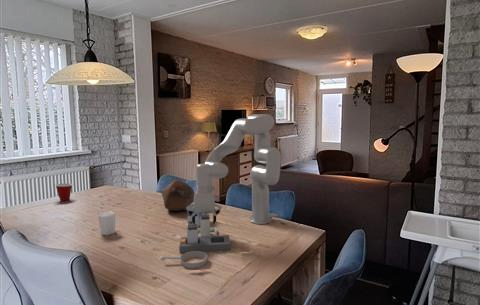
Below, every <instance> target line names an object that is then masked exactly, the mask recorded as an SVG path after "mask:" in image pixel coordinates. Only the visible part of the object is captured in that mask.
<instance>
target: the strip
mask: <svg viewBox="0 0 480 305" xmlns="http://www.w3.org/2000/svg"><path fill="white" fill-rule="evenodd" d="M178 248H179V249H178V250H179V254H185V253H187V252H191V251H201V252H204V253H207V252H208V253H209V252H210V253H211V252H227V251H231V249H232V248H231V239H230V235H229V234H225V235H223V234H222V235H218V234H217V236H201V235H198V244H187V236H182V237H180V242H179V247H178Z"/></svg>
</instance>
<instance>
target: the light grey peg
mask: <svg viewBox="0 0 480 305" xmlns="http://www.w3.org/2000/svg"><path fill="white" fill-rule="evenodd" d="M198 228H199V226H197V224H191V225H188V224H187V228H186V237H187V244H198V236H199V232H198Z"/></svg>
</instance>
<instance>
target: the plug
mask: <svg viewBox="0 0 480 305" xmlns="http://www.w3.org/2000/svg"><path fill="white" fill-rule="evenodd" d="M210 217H211V216H210V214H205V215H201V218H200V228H201V232H200V236H209V235H211V231H210V228H211V223H210V222H211V218H210Z"/></svg>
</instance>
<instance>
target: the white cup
mask: <svg viewBox="0 0 480 305" xmlns="http://www.w3.org/2000/svg"><path fill="white" fill-rule="evenodd" d="M98 222H99V228H100V229H99V230H100V234H101V235H102V236H109V235H113V234H115V233H116V212H114V211H104V212H101V213H99V214H98Z"/></svg>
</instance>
